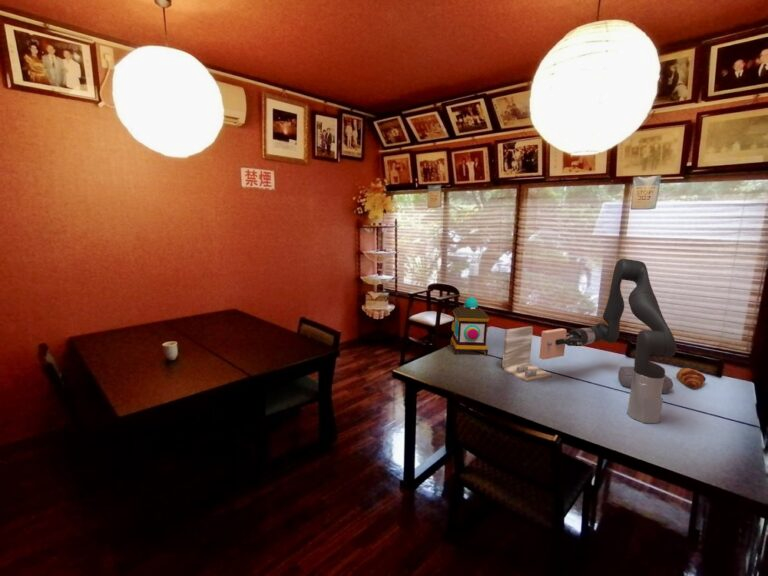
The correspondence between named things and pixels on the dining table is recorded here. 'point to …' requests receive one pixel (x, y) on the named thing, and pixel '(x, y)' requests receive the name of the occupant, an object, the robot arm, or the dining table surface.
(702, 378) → the croissant
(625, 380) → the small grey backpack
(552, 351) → the door
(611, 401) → the dining table surface
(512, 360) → the wooden bookend stand
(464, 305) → the decorative lantern
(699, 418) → the dining table surface
